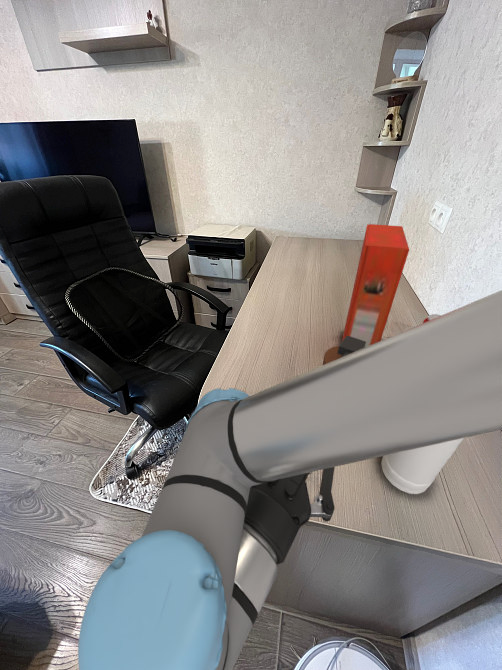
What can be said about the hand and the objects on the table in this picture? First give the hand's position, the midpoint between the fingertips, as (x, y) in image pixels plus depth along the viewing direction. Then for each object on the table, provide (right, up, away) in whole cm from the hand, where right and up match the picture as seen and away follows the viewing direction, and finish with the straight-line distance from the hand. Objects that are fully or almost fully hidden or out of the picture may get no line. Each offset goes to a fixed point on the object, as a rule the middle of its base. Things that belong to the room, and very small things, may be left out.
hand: (331, 402), depth 46 cm
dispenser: (+3, -8, +11) cm, 14 cm away
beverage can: (+33, +5, +30) cm, 45 cm away
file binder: (+16, +6, +31) cm, 35 cm away
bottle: (+14, -13, +4) cm, 20 cm away
